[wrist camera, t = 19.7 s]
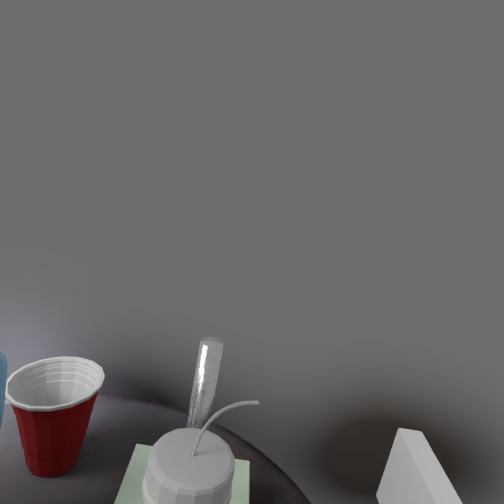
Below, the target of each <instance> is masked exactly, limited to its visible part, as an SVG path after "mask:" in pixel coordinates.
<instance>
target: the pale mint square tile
mask: <svg viewBox="0 0 504 504" xmlns="http://www.w3.org/2000/svg"><path fill="white" fill-rule="evenodd" d="M152 447H153V446H148V445H142V444H136V447H135V449H134V452H133V455H132V457H131V460H130V463H129V465H128V468H127V471H126V473H125V476H124V479H123V481H122V484H121V487H120V489H119V492H118V495H117V497H116V500H115V503H114V504H144V500H143V494H142V483H143V479H144V476H145V473H146V470H147V466H148V459H149V456H150V453H151V450H152ZM229 504H249V461H246V460H239V459H235V466H234V476H233V480H232V493H231V500H230V503H229Z"/></svg>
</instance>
